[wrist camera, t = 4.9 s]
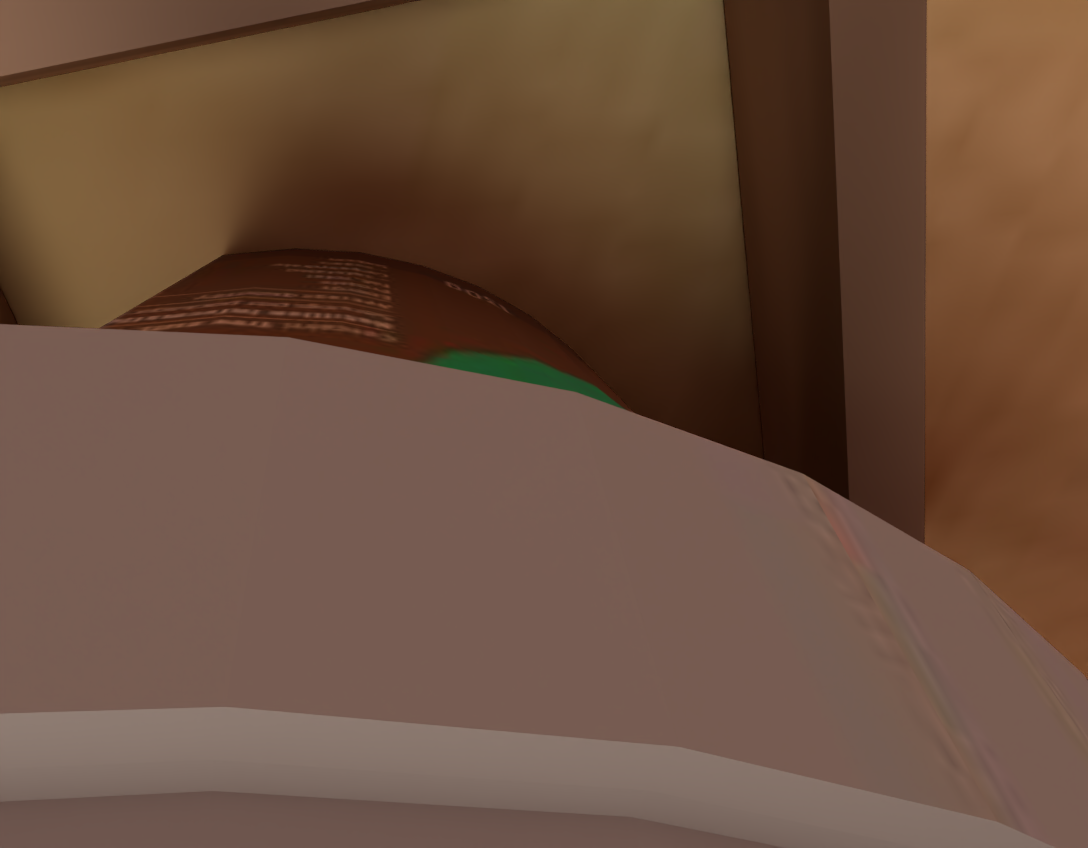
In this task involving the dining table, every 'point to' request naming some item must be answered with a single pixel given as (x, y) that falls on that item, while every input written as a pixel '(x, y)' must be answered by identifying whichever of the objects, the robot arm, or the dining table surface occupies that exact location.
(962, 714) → the food container
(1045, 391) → the dining table surface
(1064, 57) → the dining table surface
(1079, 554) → the dining table surface
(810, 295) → the walnut stand frame
